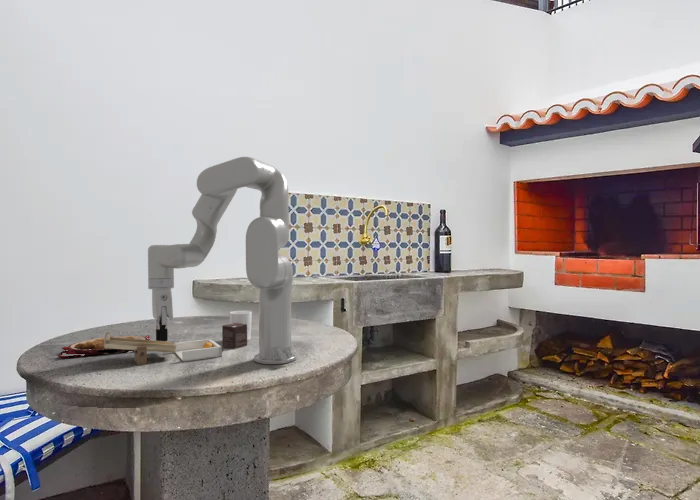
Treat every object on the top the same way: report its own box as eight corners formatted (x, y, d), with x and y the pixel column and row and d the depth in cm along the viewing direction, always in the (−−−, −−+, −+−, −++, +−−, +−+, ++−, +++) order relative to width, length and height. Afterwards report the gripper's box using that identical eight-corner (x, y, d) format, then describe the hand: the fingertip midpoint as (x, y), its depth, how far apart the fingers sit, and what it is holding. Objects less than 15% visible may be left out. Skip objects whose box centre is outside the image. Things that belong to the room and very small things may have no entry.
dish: (222, 356, 141) (221, 346, 141) (183, 361, 135) (183, 351, 135) (210, 347, 153) (210, 338, 153) (174, 352, 147) (174, 342, 147)
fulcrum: (146, 364, 133) (146, 346, 133) (137, 365, 132) (137, 347, 132) (143, 358, 140) (142, 341, 140) (134, 359, 139) (134, 342, 139)
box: (235, 343, 160) (234, 322, 160) (247, 345, 157) (247, 324, 157) (221, 347, 155) (221, 325, 154) (234, 349, 152) (234, 327, 151)
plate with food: (153, 352, 150) (153, 342, 150) (58, 360, 139) (58, 348, 139) (149, 339, 172) (149, 330, 172) (67, 345, 161) (67, 335, 161)
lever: (174, 352, 138) (177, 340, 139) (104, 348, 128) (107, 335, 129) (167, 344, 149) (169, 333, 149) (102, 339, 139) (104, 328, 140)
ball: (213, 352, 145) (214, 343, 146) (203, 352, 144) (204, 343, 144) (210, 350, 148) (211, 341, 148) (201, 350, 146) (202, 341, 147)
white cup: (249, 342, 162) (248, 313, 162) (227, 342, 162) (226, 313, 162) (254, 337, 170) (254, 310, 170) (233, 337, 170) (232, 310, 170)
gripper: (178, 285, 141) (178, 344, 141) (169, 281, 154) (170, 335, 154) (151, 286, 137) (152, 347, 137) (145, 282, 150) (145, 338, 150)
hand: (161, 341), depth 146 cm, fingers closed
